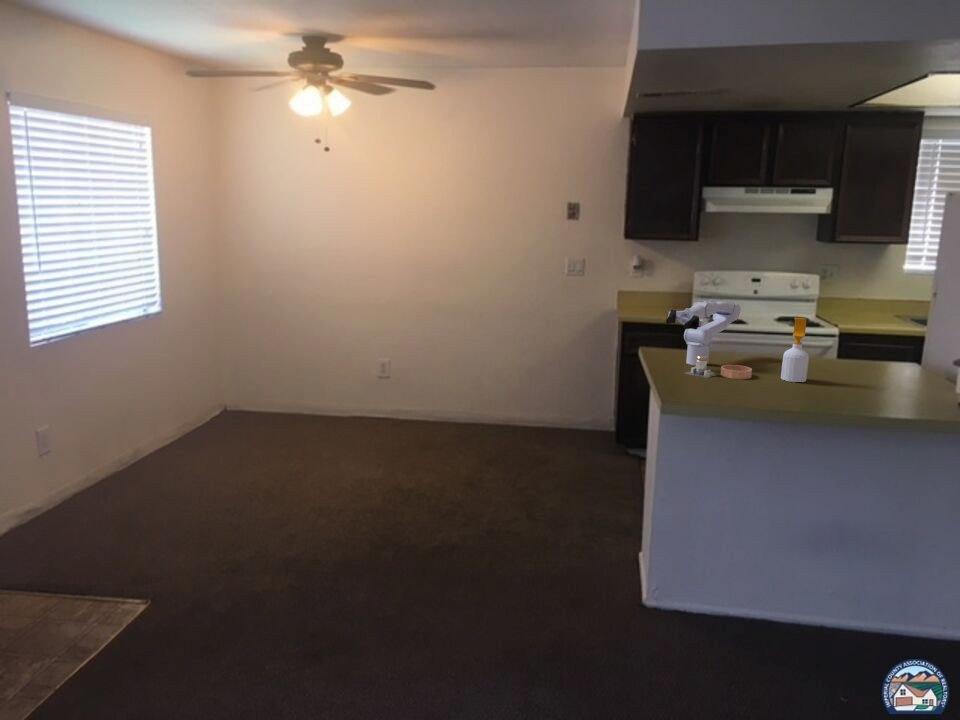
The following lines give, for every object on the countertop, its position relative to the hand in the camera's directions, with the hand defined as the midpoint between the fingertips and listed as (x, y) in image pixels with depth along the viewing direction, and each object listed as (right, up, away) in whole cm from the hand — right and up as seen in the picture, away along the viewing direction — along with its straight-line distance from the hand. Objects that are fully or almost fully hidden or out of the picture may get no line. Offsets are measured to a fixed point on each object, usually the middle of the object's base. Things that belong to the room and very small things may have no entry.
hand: (675, 323), depth 283 cm
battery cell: (+9, -20, -1) cm, 22 cm away
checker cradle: (+9, -21, 0) cm, 23 cm away
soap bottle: (+45, -22, -3) cm, 50 cm away
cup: (+23, -21, -2) cm, 31 cm away
